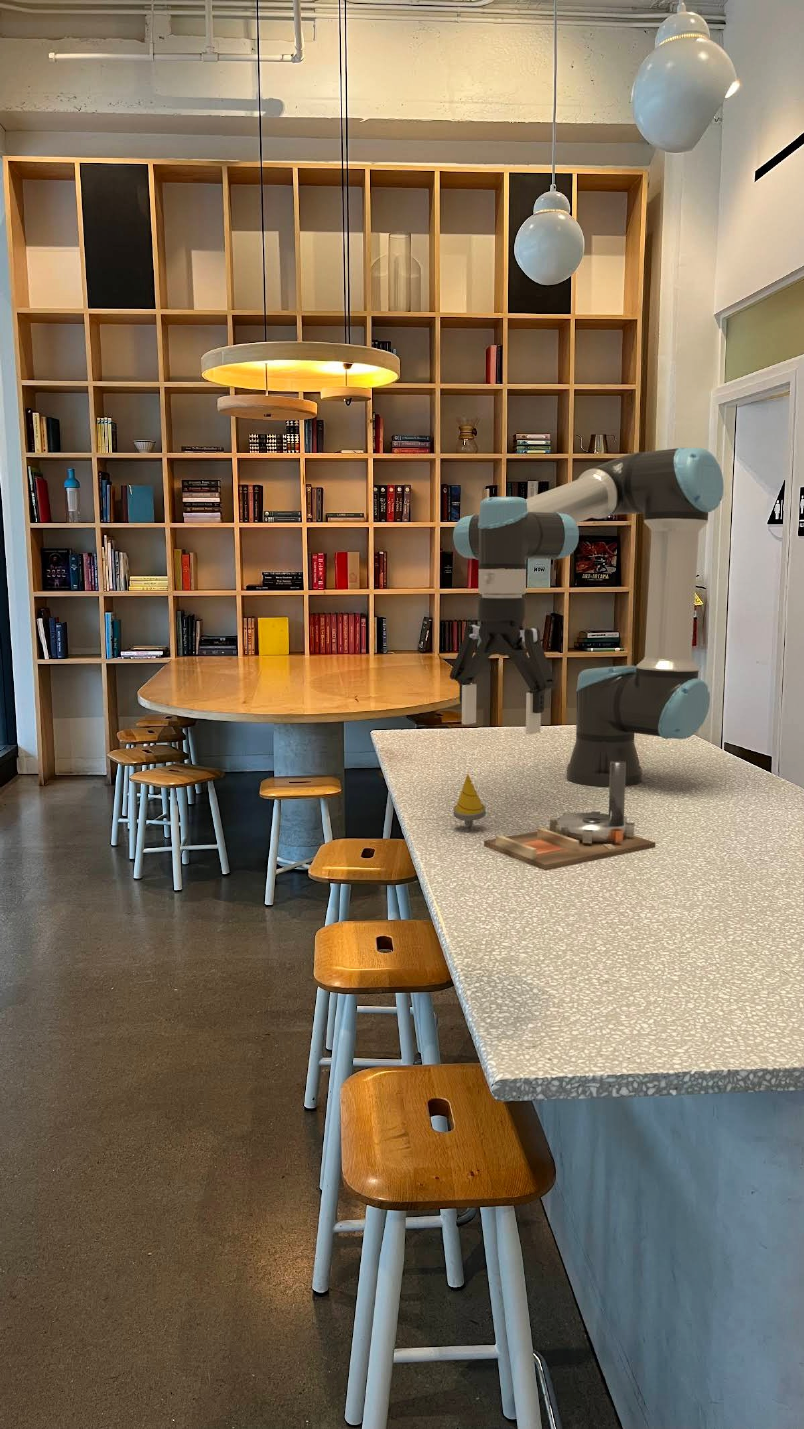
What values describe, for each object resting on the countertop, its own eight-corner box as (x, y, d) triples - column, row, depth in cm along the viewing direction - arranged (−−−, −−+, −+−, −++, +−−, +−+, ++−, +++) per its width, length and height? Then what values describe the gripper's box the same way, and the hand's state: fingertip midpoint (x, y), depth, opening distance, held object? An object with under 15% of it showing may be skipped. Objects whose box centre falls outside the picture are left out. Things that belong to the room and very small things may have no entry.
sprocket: (585, 847, 154) (587, 771, 152) (533, 828, 166) (534, 756, 164) (651, 836, 160) (654, 762, 159) (597, 818, 172) (599, 749, 170)
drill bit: (489, 823, 173) (487, 768, 169) (482, 837, 168) (479, 782, 164) (459, 820, 174) (456, 766, 171) (450, 834, 170) (447, 779, 166)
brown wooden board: (484, 846, 160) (484, 831, 160) (589, 827, 172) (590, 813, 171) (545, 871, 148) (545, 854, 147) (655, 848, 159) (655, 833, 159)
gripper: (429, 595, 168) (428, 722, 171) (549, 599, 151) (546, 740, 154) (460, 594, 173) (459, 717, 177) (580, 597, 156) (576, 734, 159)
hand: (500, 728), depth 165 cm, fingers open, 13 cm apart
